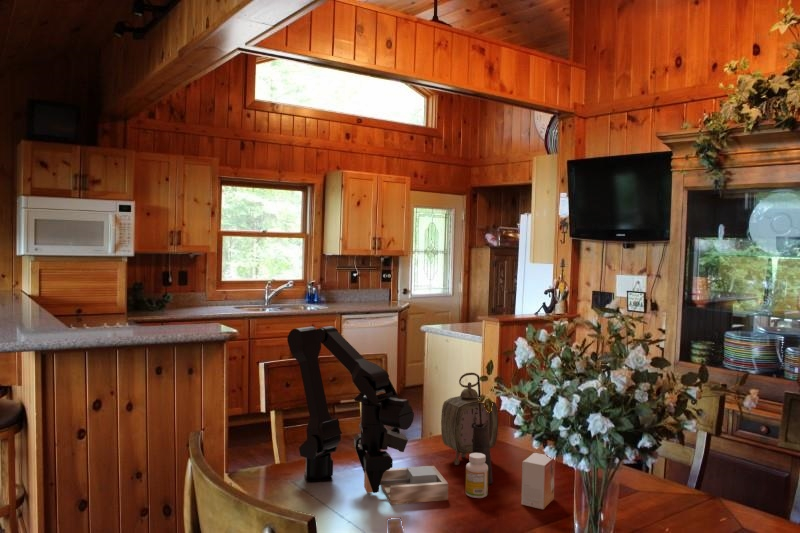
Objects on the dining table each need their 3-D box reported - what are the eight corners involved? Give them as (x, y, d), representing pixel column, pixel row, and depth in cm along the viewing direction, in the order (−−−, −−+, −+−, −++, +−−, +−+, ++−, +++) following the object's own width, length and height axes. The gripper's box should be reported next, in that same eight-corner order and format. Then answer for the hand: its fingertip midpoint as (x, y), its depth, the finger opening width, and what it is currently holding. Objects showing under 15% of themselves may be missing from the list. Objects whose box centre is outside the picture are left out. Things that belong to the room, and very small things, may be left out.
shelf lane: (390, 504, 148) (391, 487, 148) (380, 485, 160) (380, 469, 160) (447, 499, 152) (448, 483, 152) (433, 481, 163) (434, 465, 163)
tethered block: (367, 495, 150) (368, 478, 150) (363, 486, 156) (363, 469, 156) (436, 490, 154) (436, 473, 154) (429, 481, 160) (429, 464, 160)
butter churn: (485, 471, 171) (488, 368, 170) (509, 483, 163) (512, 375, 162) (458, 478, 166) (461, 372, 165) (482, 490, 158) (484, 379, 157)
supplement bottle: (474, 488, 159) (475, 450, 159) (491, 494, 155) (493, 455, 155) (460, 493, 156) (461, 454, 155) (478, 500, 152) (479, 460, 151)
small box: (543, 510, 147) (544, 465, 146) (520, 504, 150) (521, 461, 149) (554, 499, 154) (555, 456, 153) (532, 493, 157) (533, 451, 156)
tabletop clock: (454, 468, 173) (456, 377, 172) (437, 458, 181) (438, 371, 180) (497, 460, 180) (499, 373, 179) (479, 451, 188) (480, 367, 187)
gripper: (414, 431, 146) (413, 498, 146) (396, 409, 164) (395, 469, 164) (367, 433, 143) (365, 501, 144) (354, 411, 161) (353, 472, 162)
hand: (371, 485), depth 153 cm, fingers open, 9 cm apart
